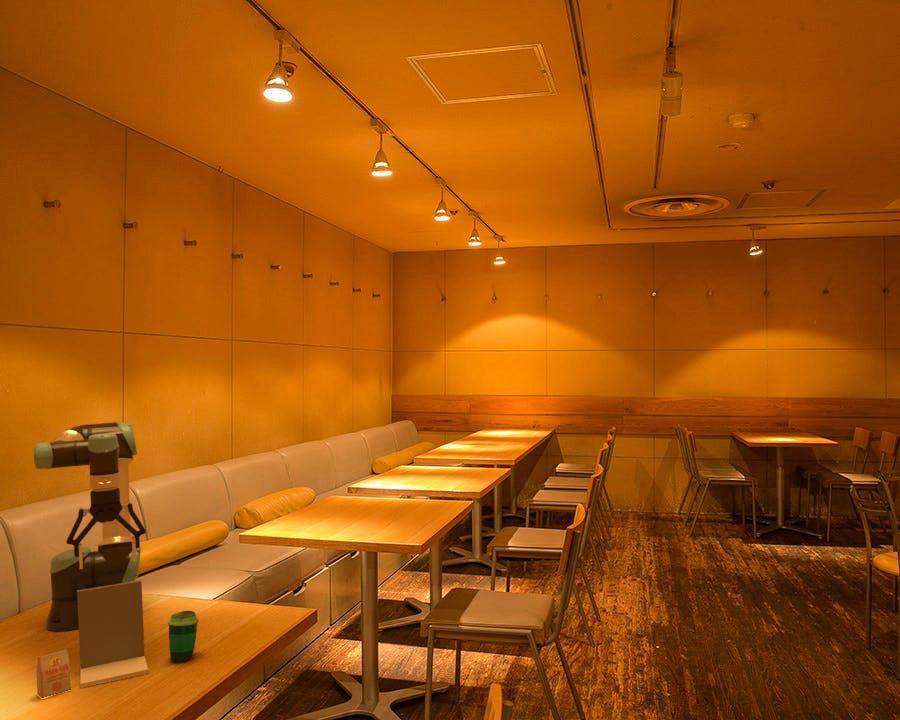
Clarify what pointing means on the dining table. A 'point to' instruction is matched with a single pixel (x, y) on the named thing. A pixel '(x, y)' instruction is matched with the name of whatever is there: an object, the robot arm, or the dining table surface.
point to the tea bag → (53, 674)
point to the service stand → (111, 633)
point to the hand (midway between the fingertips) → (108, 564)
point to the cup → (182, 636)
